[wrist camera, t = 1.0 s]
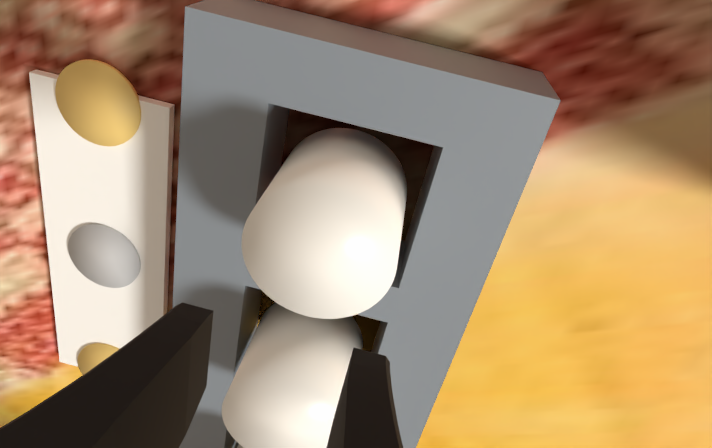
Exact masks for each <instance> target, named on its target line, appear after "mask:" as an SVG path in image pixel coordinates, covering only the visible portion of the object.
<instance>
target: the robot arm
mask: <svg viewBox="0 0 712 448" xmlns="http://www.w3.org/2000/svg"><path fill="white" fill-rule="evenodd" d="M212 322H213V310H209V309H205V308H202V307H198V306H194V305H190V304H186V303H183V302H182V303H180V304H178V305H176V306H175V307H174V308H172V309H171V310H170V311H169V312H167V313H166V314H165V315H164V316H162V317H161V318H160V319H158V320H157V321H156V322H155V323H153V324H152V325H151V326H149V327H148V328H147V329H146V330H144V331H143V332H142V333H140V334H139V335H138V336H136V337H135V338H134V339H132V340H131V341H130V342H128V343H127V344H126V345H124V346H123V347H122V348H120V349H119V350H118V351H116V352H115V353H113V354H112V355H111V356H109V357H108V358H106V359H105V360H104V361H102V362H101V363H99V364H98V365H97V366H95V367H94V368H92V369H91V370H90V371H88V372H87V373H85V374H84V375H83V376H81V377H80V378H78V379H77V380H75V381H74V382H72V383H71V384H69V385H68V386H66V387H65V388H63V389H62V390H60V391H58V392H57V393H55V394H54V395H52V396H51V397H49V398H48V399H46V400H45V401H43V402H42V403H40V404H38V405H37V406H35V407H34V408H32V409H31V410H29V411H28V412H26V413H24V414H23V415H21V416H19V417H18V418H16V419H15V420H13V421H11V422H10V423H8V424H6V425H5V426H3V427H1V428H0V448H179V447H180V445H181V443H182V441H183V439H184V437H185V435H186V433H187V431H188V429H189V426H190V424H191V422H192V419H193V417H194V415H195V413H196V410H197V408H198V405H199V403H200V401H201V398H202V396H203V394H204V391H205V389H206V386H207V376H208V365H209V354H210V344H211V333H212ZM327 448H403V444H402V440H401V436H400V431H399V426H398V422H397V416H396V411H395V405H394V399H393V392H392V384H391V375H390V361H389V360H388V358H387V357H386V356H384V355H381V354H377V353H373V352H369V351H365V350H362V349H358V348H353V351H352V355H351V358H350V362H349V366H348V369H347V373H346V376H345V380H344V383H343V387H342V390H341V394H340V398H339V401H338V405H337V408H336V412H335V415H334V419H333V423H332V427H331V431H330V436H329V440H328V444H327Z"/></svg>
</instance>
